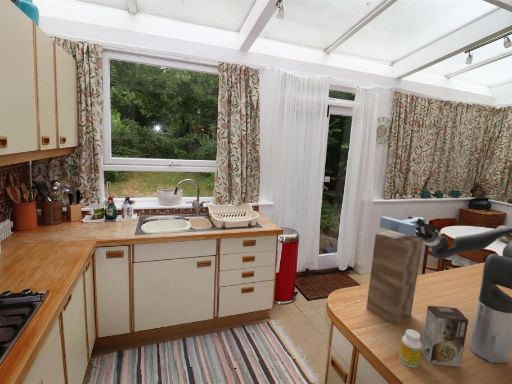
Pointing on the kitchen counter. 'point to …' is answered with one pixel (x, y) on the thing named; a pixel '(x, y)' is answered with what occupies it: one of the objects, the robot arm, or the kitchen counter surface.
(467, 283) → the kitchen counter surface
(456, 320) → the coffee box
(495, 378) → the kitchen counter surface
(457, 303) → the kitchen counter surface
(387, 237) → the pedestal
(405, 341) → the supplement bottle
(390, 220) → the t bar
